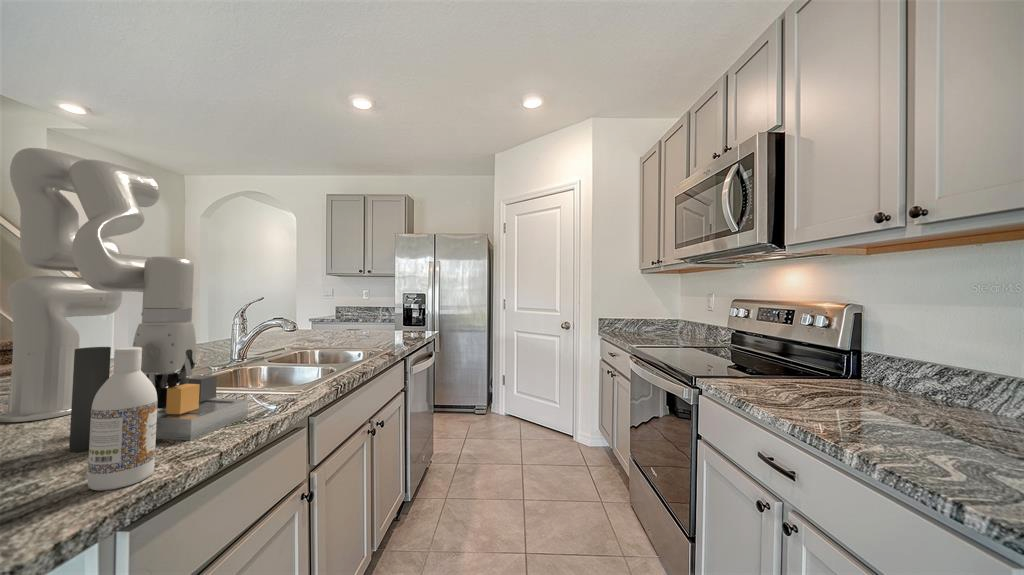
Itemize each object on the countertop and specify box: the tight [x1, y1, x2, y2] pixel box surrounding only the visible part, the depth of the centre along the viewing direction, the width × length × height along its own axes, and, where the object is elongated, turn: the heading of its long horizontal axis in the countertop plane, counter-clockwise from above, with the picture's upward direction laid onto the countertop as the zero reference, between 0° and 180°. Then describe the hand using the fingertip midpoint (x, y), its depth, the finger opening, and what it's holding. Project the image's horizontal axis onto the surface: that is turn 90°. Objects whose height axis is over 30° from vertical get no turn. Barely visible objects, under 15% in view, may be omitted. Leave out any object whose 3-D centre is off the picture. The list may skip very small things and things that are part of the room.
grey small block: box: [188, 374, 218, 402], centre depth 83 cm, size 3×4×5 cm
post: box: [68, 346, 112, 453], centre depth 67 cm, size 4×4×18 cm
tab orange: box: [166, 384, 200, 414], centre depth 75 cm, size 3×4×5 cm
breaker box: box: [156, 397, 249, 441], centre depth 78 cm, size 12×14×4 cm
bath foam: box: [87, 346, 158, 491], centre depth 56 cm, size 7×7×20 cm
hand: (163, 406), depth 75 cm, fingers closed
